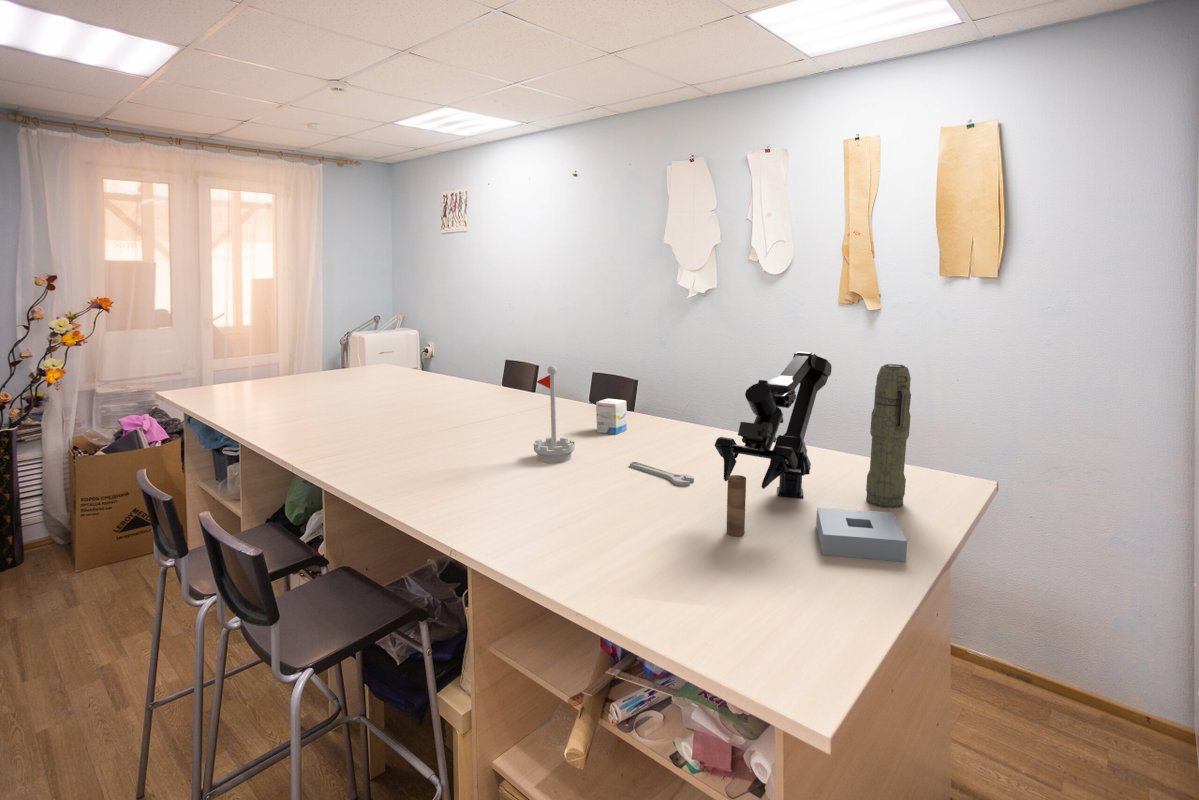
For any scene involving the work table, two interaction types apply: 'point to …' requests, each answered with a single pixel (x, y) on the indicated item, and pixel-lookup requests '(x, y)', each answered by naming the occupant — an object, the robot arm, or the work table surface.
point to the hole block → (860, 534)
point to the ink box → (611, 416)
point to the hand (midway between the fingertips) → (743, 484)
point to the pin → (736, 505)
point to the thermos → (889, 437)
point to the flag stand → (553, 431)
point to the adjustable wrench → (665, 474)
